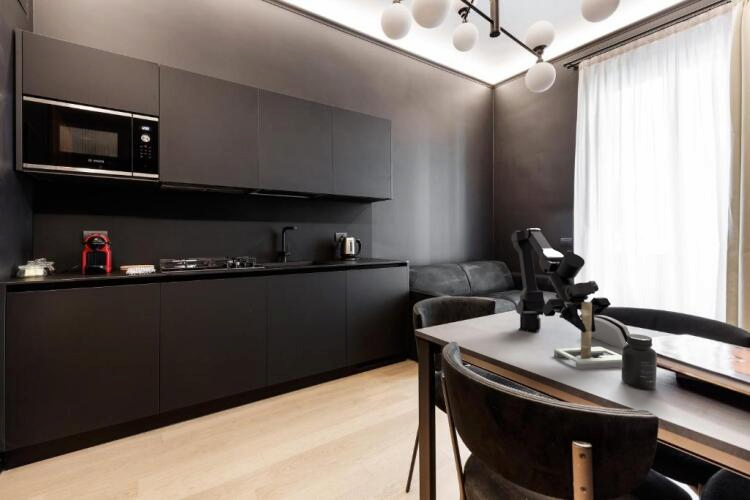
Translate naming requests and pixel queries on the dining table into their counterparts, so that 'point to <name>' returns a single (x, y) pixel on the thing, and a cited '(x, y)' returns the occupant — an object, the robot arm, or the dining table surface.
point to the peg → (586, 336)
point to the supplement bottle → (639, 363)
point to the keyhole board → (592, 363)
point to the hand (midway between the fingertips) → (589, 331)
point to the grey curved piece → (610, 331)
